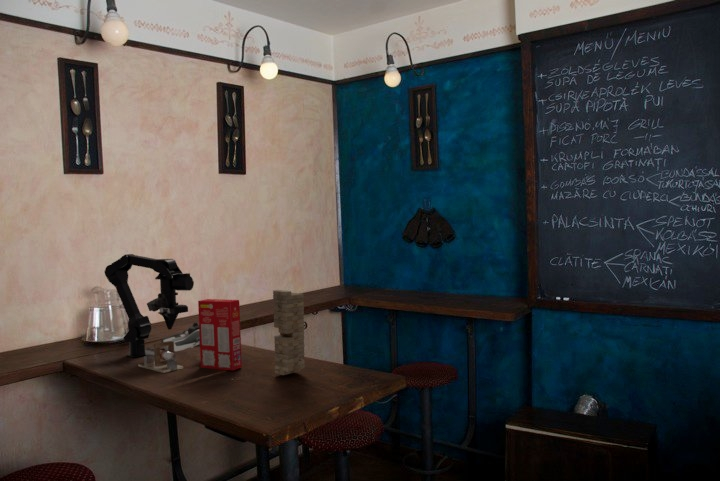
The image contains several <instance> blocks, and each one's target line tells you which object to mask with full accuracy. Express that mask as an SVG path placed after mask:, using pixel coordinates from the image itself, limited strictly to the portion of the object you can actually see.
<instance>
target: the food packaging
mask: <svg viewBox="0 0 720 481" xmlns="http://www.w3.org/2000/svg"><path fill="white" fill-rule="evenodd" d="M197 302H198V303H197V306H198V325H199V334H200V345H199V353H200V354H199V355H200V357H199V359H200V368H201V369H211V370H223V371H224V370H225V371H235V370H238V369H241V368H242V367H243V364H242V362H243V361H242V337H241V312H240V310H241V309H240V307H241V306H240V299H222V298H221V299H218V298H217V299H216V298H215V299H212V298H206V299H205V298H204V299H201V300H198V301H197Z"/></svg>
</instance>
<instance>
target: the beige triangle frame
mask: <svg viewBox="0 0 720 481" xmlns="http://www.w3.org/2000/svg"><path fill="white" fill-rule="evenodd" d="M164 346H168V352H172V353H174V354H175V352H174V341H167V342H162V343H161V342H158V343H154V344H153V349H154V361H155V366H157V367H159V366H164V365H167V361H169V360H162V361H161V359H160V350H161V348H164Z"/></svg>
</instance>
